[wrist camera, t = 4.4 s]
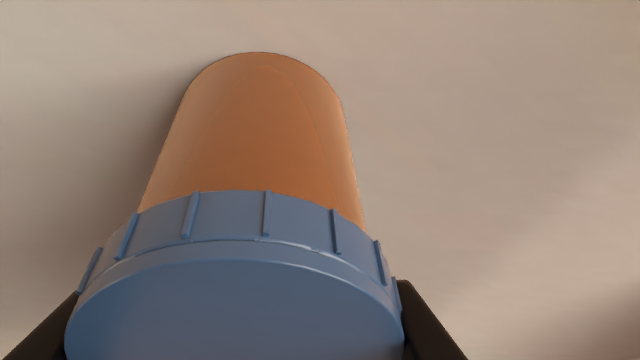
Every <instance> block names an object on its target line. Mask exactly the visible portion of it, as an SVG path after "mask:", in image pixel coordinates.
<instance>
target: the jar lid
mask: <svg viewBox="0 0 640 360" xmlns="http://www.w3.org/2000/svg"><path fill="white" fill-rule="evenodd" d="M75 294H77V295H80V296H79V298H78V301H77V304H76V305H75V307H74V309H73V312H72V314H71V316H70V318H69V320H68V323H67V326H66V330H65V334H64V350H65V354H66V357H67V360H402V357H403V353H404V349H405V338H404V332H403V328H402V323H401V311H402V306H401V301H400V297H399V293H398V288H397V284H396V279H395V276H394V277H391V273H390V270H389V267H388V264H387V261H386V259H385V257H384V256H383V254H382V252H381V247H380V243H379V241H378V240H376V241H374V242H373V240H372V239H371V238H370V237H369V236H368V235H367V234H366V233H365V232H364V231H363V230H361V229H360V228H359V227H358V226H357V225H356V224H354V223H353V222H351V221H349V220H348V219H346V218H345V217H343V216H342V215H340V214H338V212H337V210H336V209H334V208H332V209H331V210H330V209H328V208H326V207H324V206H321V205H319V204H317V203H314V202H312V201H308V200H304V199H301V198H297V197H292V196H288V195H284V194H279V193H272V190H267V189H266V191H260V190H221V191H206V192H200V193H199V191H193V192H192V194H190V195H186V196H182V197H178V198H175V199H171V200H168V201H165V202H163V203H159V204H156V205H155V206H152V207H150V208H148V209H146V210H144V211H143V212H141V213H139V214H138V213H136V212H133V213H132V214H131V215H130V218H129V220H128V221H127V222H126V223H125V224H123V225H122V226H121V227H119V228H118V229H117V230H116V231H115V232H114V233H113V234H112V235H111V237H110V238H109V239H108V240H107V241H106V242H105V244H104V246H103V248H102V247H99V246H98V247H97V248H96V250H95V253H94V255H93V257H92V259H91V261H90V263H89V265H88V267H87V270H86V272H85V274H84V276H83V278H82V280H81V282H80V285H79V287H78V289H77V291H76V293H75Z"/></svg>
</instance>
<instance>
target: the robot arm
mask: <svg viewBox="0 0 640 360" xmlns="http://www.w3.org/2000/svg"><path fill="white" fill-rule="evenodd" d="M396 284H397V288H398V293H399V297H400V301H401V306H402V311H401V323H402V328H403V332H404V338H405V349H404V353H403V357H402V360H468V359H467V358H466V356H465V355H464V354H463V352H462V351H461V350H460V348H459V347H458V346H457V344H456V343H455V342H454V340H453V339H452V338H451V336H450V335H449V334H448V332H447V331H446V330H445V328H444V327H443V326H442V324H441V323H440V322H439V320H438V319H437V318H436V316H435V315H434V314H433V312H432V311H431V310H430V308H429V307H428V306H427V304H426V303H425V302H424V300H423V299H422V298H421V296H420V295H419V294H418V292H417V291H416V290H415V288H414V287H413V286H412V284H411V283H410V282H409V281H407V280H396ZM76 291H77V290H76ZM76 291H74V292H73V293H72V294H71V295H70V296H69V297H68V298H67V299H66V300H65V301H64V302H63V303H62V304H61V305H60V306H59V307H57V308H56V309H55V310H54V311H53V312H52V313H51V314H50V315H49V316H48V317H47V318H46V319H45V320H44V321H43V322H42V323H41V324H39V325H38V326H37V327H36V328H35V329H34V330H33V331H32V332H31V333H30V334H29V335H28V336H27V337H26V338H25V339H24V340H23V341H21V342H20V343H19V344H18V345H17V346H16V347H15V348H14V349H13V350H12V351H11V352H10V353H9V354H8V355H7V356H6V357H5V358H3V359H2V360H67V357H66V354H65V350H64V334H65V330H66V326H67V323H68V320H69V318H70V316H71V314H72V312H73V309H74V307H75V305H76V304H77V301H78V298H79V296H80V295H77V294H75V293H76Z"/></svg>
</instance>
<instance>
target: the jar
mask: <svg viewBox="0 0 640 360" xmlns="http://www.w3.org/2000/svg"><path fill="white" fill-rule="evenodd" d="M266 189H267V190H272V193H279V194H284V195H288V196H292V197H297V198H301V199H304V200H308V201H312V202H314V203H317V204H319V205H321V206H324V207H326V208H328V209H330V210H331V209H332V208H334V209H336V210H337V212H338V214H340V215H342V216H343V217H345V218H346V219H348V220H349V221H351V222H353V223H354V224H356V225H357V226H358V227H359V228H360V229H361V230H363V231H364V232H365V233H366V230H365V224H364V219H363V214H362V208H361V203H360V197H359V192H358V187H357V181H356V176H355V170H354V165H353V160H352V154H351V149H350V143H349V138H348V133H347V127H346V122H345V116H344V112H343V108H342V105H341V103H340V101H339V98H338V96H337V95H336V93H335V91H334V90H333V88H332V87H331V86H330V85H329V83H328V82H327V81H326V80H325V79H324V78H323V77H322V76H321V75H320V74H319V73H317V72H316V71H315V70H313V69H312V68H310V67H309V66H307V65H305V64H303V63H301V62H300V61H298V60H295V59H292V58H290V57H287V56H283V55H279V54H274V53H265V52H249V53H243V54H237V55H233V56H230V57H226V58H224V59H222V60H219V61H217V62H215V63H213V64H212V65H210V66H209V67H207V68H206V69H204V70H203V71H202V72H201V73H200V74H198V75H197V77H196V78H195V79H194V80H193V81H192V82H191V84H190V85H189V87H188V88H187V90H186V92H185V94H184V96H183V99H182V101H181V104H180V106H179V109H178V111H177V114H176V116H175V119H174V121H173V123H172V126H171V128H170V131H169V133H168V136H167V138H166V141H165V143H164V146H163V148H162V151H161V153H160V156H159V158H158V161H157V163H156V165H155V168H154V170H153V173H152V175H151V178H150V180H149V183H148V185H147V188H146V190H145V193H144V195H143V198H142V200H141V203H140V205H139V207H138V210H137V212H136V213H138V214H139V213H141V212H143V211H144V210H146V209H148V208H150V207H152V206H155V205H156V204H159V203H163V202H165V201H168V200H171V199H175V198H178V197H182V196H186V195H190V194H192V192H193V191H199V193H200V192H206V191H221V190H260V191H266Z"/></svg>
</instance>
